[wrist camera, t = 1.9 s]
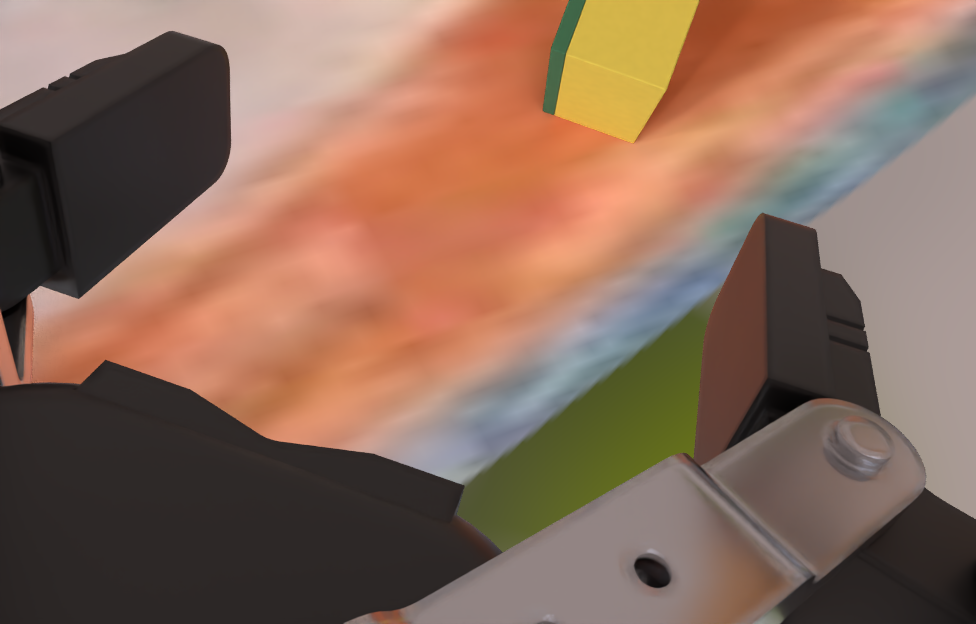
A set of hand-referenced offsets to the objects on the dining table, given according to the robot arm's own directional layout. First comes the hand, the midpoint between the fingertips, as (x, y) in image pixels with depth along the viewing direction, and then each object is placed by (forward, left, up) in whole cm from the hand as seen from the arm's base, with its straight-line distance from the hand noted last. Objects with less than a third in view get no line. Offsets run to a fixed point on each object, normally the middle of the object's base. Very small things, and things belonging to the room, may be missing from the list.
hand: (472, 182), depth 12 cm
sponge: (-5, +10, -26) cm, 28 cm away
